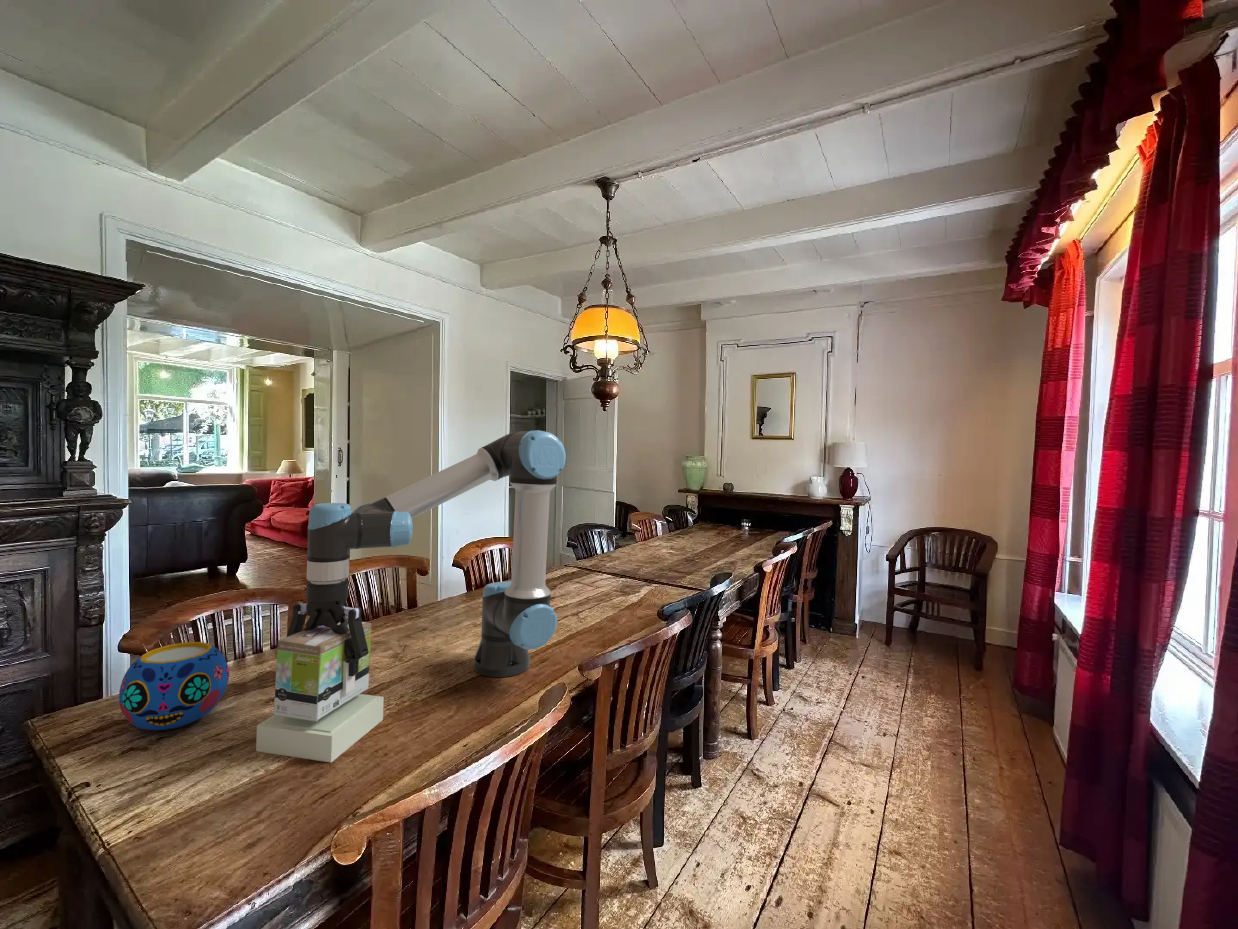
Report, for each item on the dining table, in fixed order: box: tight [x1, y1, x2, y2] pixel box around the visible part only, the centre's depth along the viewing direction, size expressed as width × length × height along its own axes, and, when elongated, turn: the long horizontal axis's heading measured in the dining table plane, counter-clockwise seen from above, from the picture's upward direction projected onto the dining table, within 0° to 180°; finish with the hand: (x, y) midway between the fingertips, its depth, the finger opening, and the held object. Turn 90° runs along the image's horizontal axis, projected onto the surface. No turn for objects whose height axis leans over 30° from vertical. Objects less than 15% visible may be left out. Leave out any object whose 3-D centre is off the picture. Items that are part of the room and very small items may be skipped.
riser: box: [255, 693, 385, 763], centre depth 106 cm, size 16×16×5 cm
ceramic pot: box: [118, 641, 230, 731], centre depth 108 cm, size 18×18×15 cm
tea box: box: [273, 619, 372, 721], centre depth 106 cm, size 15×10×15 cm, turn 169°
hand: (324, 687), depth 106 cm, fingers closed on tea box, 10 cm apart
